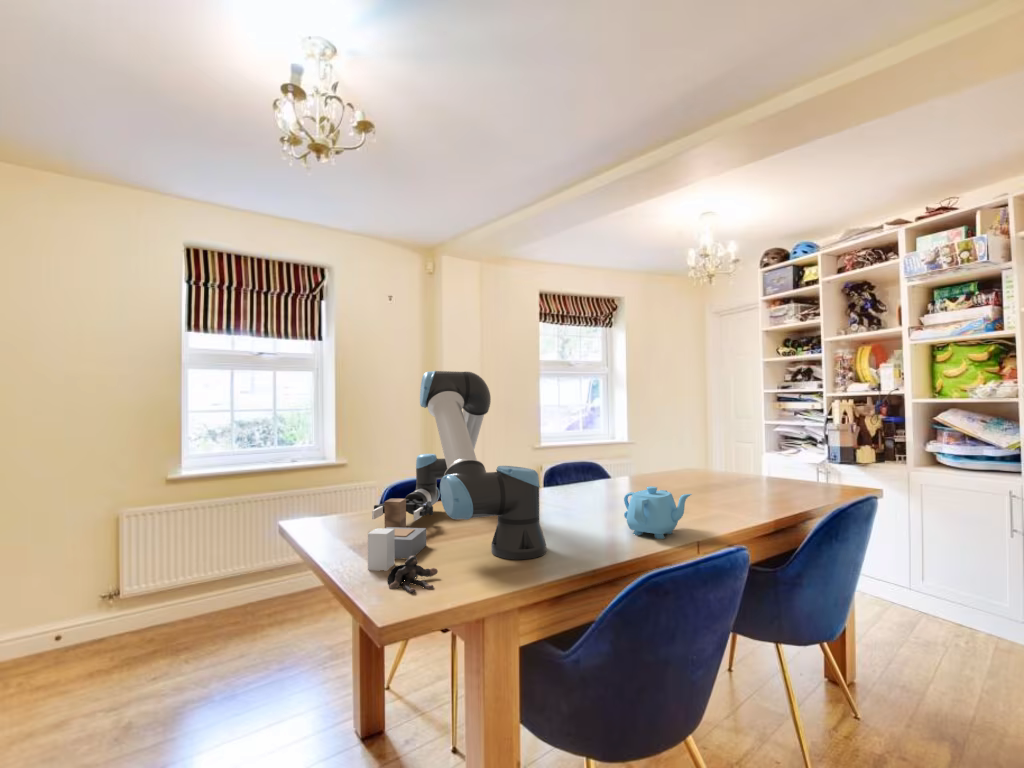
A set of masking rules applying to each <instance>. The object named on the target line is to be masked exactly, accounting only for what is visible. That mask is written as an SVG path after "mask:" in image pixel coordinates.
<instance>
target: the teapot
mask: <svg viewBox="0 0 1024 768" xmlns="http://www.w3.org/2000/svg"><path fill="white" fill-rule="evenodd" d="M692 495H693V493H686V494H685V493H684V494H682V495H680V497H679V499H678V503H677V505H676V502H675V498H674V496H673V493H671V492H670V491H668V490H664V489H660V490H658V486H651V485H650V486H647V487H646V489H642V490H638V491H635V492H634V491H631V492H628V493H626V494H625V495H624V497H623V502H624V505H625V508H626V510H625V512H624V515H623V516H624V518H625V519H626V523H627V526H628V528H629V529H630V530H632V531H633V533H632V535H633V534H635V535H634V536H642V535H643V534H644V533H648V534H649V533H650V534H654V539H657V540H663V539H665V535H664V534H667V535H670V534H673V531H674V530H675V529H676V527H677V526H678V523H679V521H680V520H681V519H682V518H683V516H684V513H685V505H686V500H687V499H688V497H690V496H692ZM630 496H631V497H630ZM629 497H630V500H629Z"/></svg>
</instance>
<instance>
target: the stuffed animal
mask: <svg viewBox="0 0 1024 768" xmlns="http://www.w3.org/2000/svg"><path fill="white" fill-rule="evenodd" d="M438 572H439V571H438V569H437V568H435V567H432V568H424V567H423V566H421V565H418V558H417V556H416V555H415V556H409V557H408V558H407V559H406V561H404V564H399V565H396V566H394V567H393V568H391V570H390V572H389V573H388V576H387V585H388V584H389V585H388V589H389V590H396V589H399V588H400V587H399V586H401V587H402V590H404V591H405V590H406V591H405V592H406V593H408V592H410V593H409V594H414V593H415V592H416V591H417V589H416V588H412V587H411V586H410V585H411V584H410V583H413V584H412V585H414V584H416V585H415V586H419V585H420V587H422V588H423V587H424V588H423V589H426V588H432V589H434V584H429V583H428V582H426V580H416V578H417V577H418V576H419V577H422V578H425V577H426V578H428V577H430V578H431V577H433V576H436V574H438ZM417 575H418V576H417ZM415 577H416V578H415ZM404 580H405V581H404ZM402 582H403V583H402ZM413 592H414V593H413Z"/></svg>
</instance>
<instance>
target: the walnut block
mask: <svg viewBox="0 0 1024 768" xmlns="http://www.w3.org/2000/svg"><path fill="white" fill-rule="evenodd" d="M384 503H385V513H384V529H385V528H386V527H399V528H407V512H406V499H405V498H389V499H387V500H385V501H384Z"/></svg>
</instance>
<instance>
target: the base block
mask: <svg viewBox="0 0 1024 768" xmlns="http://www.w3.org/2000/svg"><path fill="white" fill-rule="evenodd" d="M384 529H395V559H402V558H408V557H409V556H416V554H417V555H418V554H419V553H420V552H421V551H422V550H423V549H424V548H426V547H427V528H426V527H406V528H399V527H386V528H385V527H384ZM425 546H426V547H425Z"/></svg>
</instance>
